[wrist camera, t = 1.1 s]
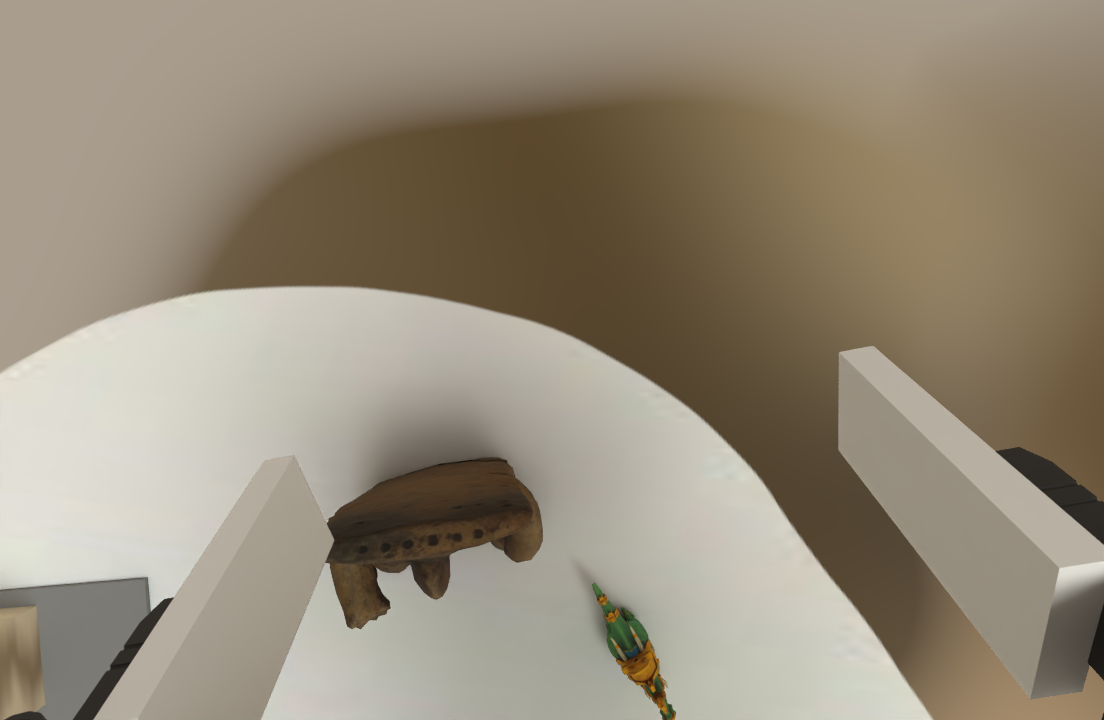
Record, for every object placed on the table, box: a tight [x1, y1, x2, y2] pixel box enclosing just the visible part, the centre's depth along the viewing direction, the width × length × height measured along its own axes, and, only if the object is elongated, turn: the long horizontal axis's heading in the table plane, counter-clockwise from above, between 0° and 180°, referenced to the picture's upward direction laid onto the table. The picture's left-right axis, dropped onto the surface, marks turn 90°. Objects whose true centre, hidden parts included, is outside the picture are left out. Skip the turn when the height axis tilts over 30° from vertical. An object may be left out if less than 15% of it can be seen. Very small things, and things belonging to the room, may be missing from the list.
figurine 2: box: [592, 583, 676, 720], centre depth 46 cm, size 3×12×8 cm, turn 29°
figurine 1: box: [325, 458, 543, 629], centre depth 39 cm, size 13×8×20 cm, turn 104°
